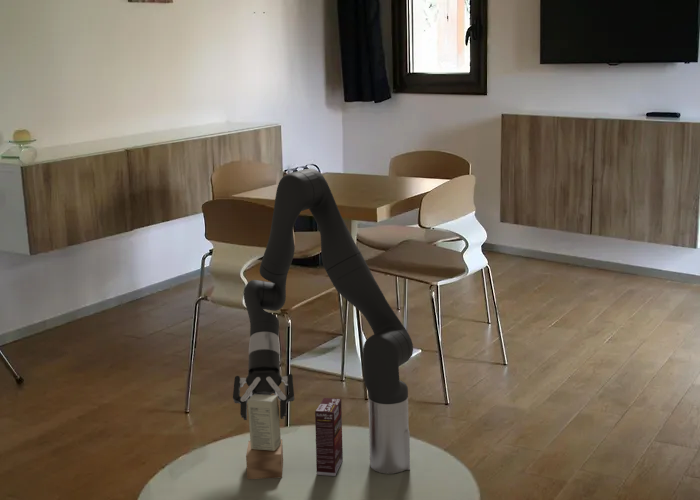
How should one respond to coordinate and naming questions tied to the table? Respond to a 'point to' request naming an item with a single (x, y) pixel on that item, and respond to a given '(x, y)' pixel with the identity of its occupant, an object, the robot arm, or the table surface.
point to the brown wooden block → (264, 463)
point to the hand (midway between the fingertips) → (263, 418)
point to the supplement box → (328, 436)
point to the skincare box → (264, 422)
